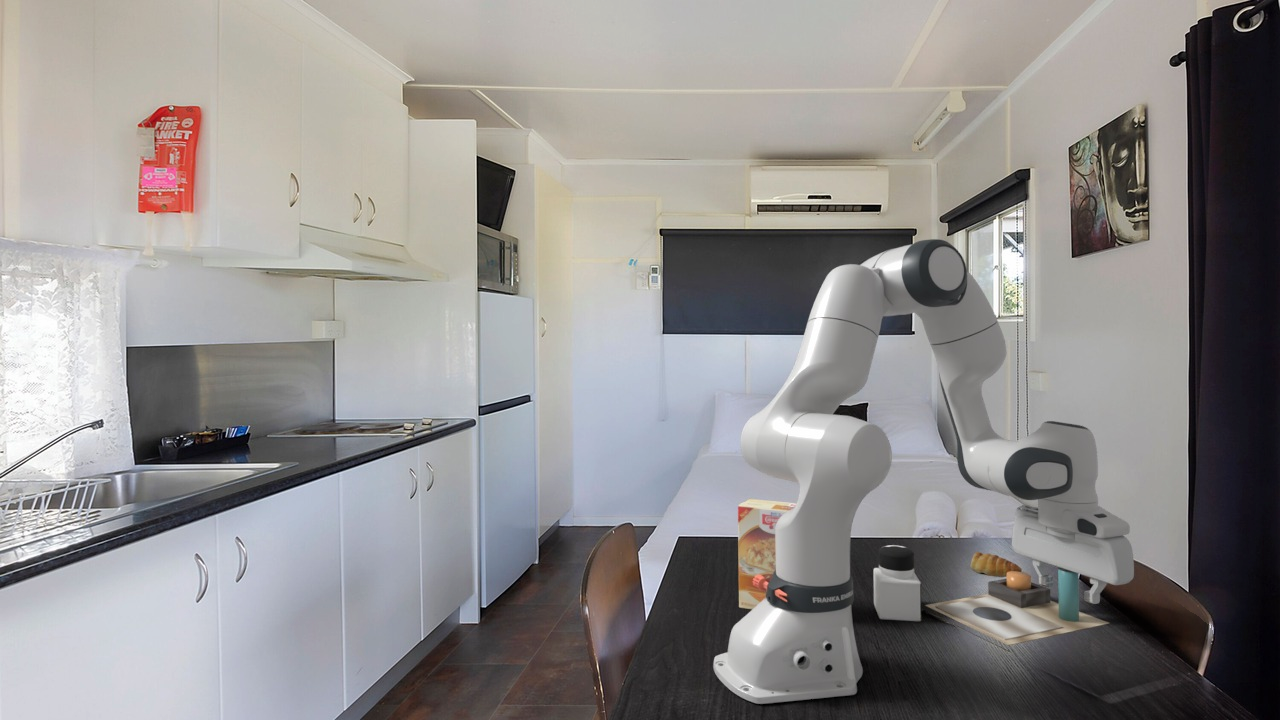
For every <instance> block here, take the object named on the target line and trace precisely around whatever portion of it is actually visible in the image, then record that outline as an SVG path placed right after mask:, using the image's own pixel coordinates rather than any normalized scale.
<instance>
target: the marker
mask: <svg viewBox="0 0 1280 720" xmlns="http://www.w3.org/2000/svg"><path fill="white" fill-rule="evenodd" d="M1057 572H1058V573H1057V576H1058V577H1057V579H1058V580H1057V585H1058V586H1057V589H1058V590H1057V592H1058V593H1057V594H1058V602H1057V603H1058V604H1059V618H1060V619H1062V620H1065V621H1070V622H1077V621H1079V612H1080V589H1079V588H1080V581H1079V580H1080V578H1079V573H1076V572H1072V571H1069V570H1066V569H1064V568H1061V567H1057Z"/></svg>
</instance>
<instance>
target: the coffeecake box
mask: <svg viewBox="0 0 1280 720" xmlns="http://www.w3.org/2000/svg"><path fill="white" fill-rule="evenodd" d="M796 504H797V502H787V501H774V500H768V499H767V500H765V499H756V498H755V499H754V498H747V500H745V501H744V502H741V503H739V504H738V505H737V535H738V537H737V539H738V540H737V541H738V542H737V546H738V547H737V548H738V549H737V550H738V553H737V554H738V607H739V608H741V609H747V610H752V609H754V608H755V607H756V606H757V605H758V604H759V603H760V602H761V601H762V600H763V599H764V598H765V597H766V592H767V590H765V591H761V590H760V589H759V588H756V587H755V586H754V585H753V584H754V583H753V581H754V580H753V578H755V576H756V575H762V576H763V577H764V578H767V579H768V580H769V582H770V580H771V577H772V575H773V573H774V571H775V570H776V554H775V527H776V523H777V521H778V519H779V518H780V517H781V516H782V515H783V514H784V513H786V512H787V511H789V510H791V509H793V508H795V506H796Z"/></svg>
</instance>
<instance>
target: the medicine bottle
mask: <svg viewBox="0 0 1280 720" xmlns="http://www.w3.org/2000/svg"><path fill="white" fill-rule="evenodd" d="M873 605H874V608H875V610H876V612H877V616H878V618H879V619H880V620H888V621H903V622H904V621H905V622H921V621H922V582H921V580H919V578H918V575H916V573H915V553H914V552H913V550H912V549H910V548H908V547H906V546H903V545H895V544H892V545H884V546H882V547H880V548H879V549H878V567H874V568H873Z"/></svg>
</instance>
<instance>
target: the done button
mask: <svg viewBox="0 0 1280 720" xmlns="http://www.w3.org/2000/svg"><path fill="white" fill-rule="evenodd" d="M1006 579H1007V586H1008V587H1010V588H1013V589H1015V590H1018V591H1025V590H1031V582H1032V575H1030V574H1029V573H1026V572H1023V571H1021V572H1017V571H1010V572H1007V577H1006Z"/></svg>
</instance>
